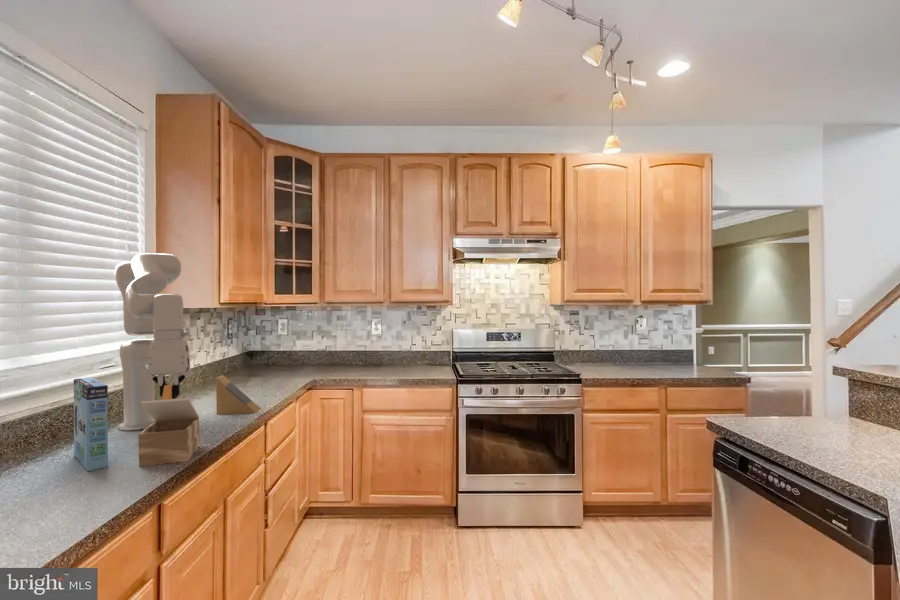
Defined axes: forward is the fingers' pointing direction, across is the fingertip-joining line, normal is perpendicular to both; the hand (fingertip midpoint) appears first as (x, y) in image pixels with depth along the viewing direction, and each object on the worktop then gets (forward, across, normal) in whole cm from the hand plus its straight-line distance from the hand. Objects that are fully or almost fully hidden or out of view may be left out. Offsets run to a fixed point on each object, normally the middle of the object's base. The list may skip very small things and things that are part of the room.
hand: (169, 397), depth 138 cm
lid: (+4, 0, -1) cm, 4 cm away
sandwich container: (+17, -10, -53) cm, 57 cm away
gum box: (+17, +21, -2) cm, 27 cm away
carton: (+17, 0, 0) cm, 17 cm away
